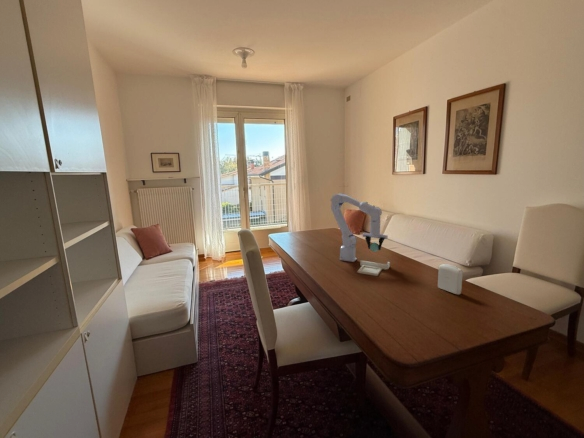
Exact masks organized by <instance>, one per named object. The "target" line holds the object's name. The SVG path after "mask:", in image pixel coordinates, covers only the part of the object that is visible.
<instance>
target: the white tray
mask: <svg viewBox="0 0 584 438" xmlns="http://www.w3.org/2000/svg"><path fill="white" fill-rule="evenodd" d="M382 270H383V269H382V268H379V267H373V266H366V265H362V266H360V267H359V269H358V270H357V274H362V275H369V276H376V277H378V276H379V275H380V273H381V272H382Z"/></svg>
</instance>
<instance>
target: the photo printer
mask: <svg viewBox="0 0 584 438" xmlns="http://www.w3.org/2000/svg"><path fill="white" fill-rule="evenodd" d="M463 274H464V273H463V270H462V269H461V268H459V267H457V266H455V265H453V264H447V263H443V264H439V267H438V273H437V275H438V276H437V288H438V289H441V290H442V291H445V292H449V293H452V294H455V295H461V294H462V290H463V289H462V287H463V286H462V285H463Z"/></svg>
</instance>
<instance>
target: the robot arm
mask: <svg viewBox="0 0 584 438" xmlns="http://www.w3.org/2000/svg"><path fill="white" fill-rule="evenodd" d="M330 202H331V204H330V205H331V206H330V207H331V211H332V215H333V216H334V218H335V221H336V222H337V225H338V228H339V230H340V232H341V239H342V245H341V246H340V249H339V260H340V261H343V262H344V261H345V262H351V263H352V262H353V263H354V262H355V261H356V260H357V259H358V258H357V257H356V243H357V242H358V239H357V237H356V236H355V235H354V233H353V231H351V230H350V227H349V226H348V223H347V221H346V219H345V216H344V214H343V212H342V210H341V208H342V205H344V203H348V204H350V205H353V206H355V207H357V208H358V209H359V211H361V212H363V213H365V214H367V215H369V217H370V228H369V230H370V232H369V233H367V232H363V233H362V237H363V238H365V239H364V240H365V242H366V244H367V247H368V250H371V249H370V245H371V243H372V242H371V241H372V238H374V239H378V245H379V250H378V251H381V248H382V245H383V243H384V241H385V240H387V239H388V235H389V234H382V233H381V216H382V212H383V211H382V209H381V208H380V207H378V206H377V207H376V205H372V204H370V203H368V202H367V201H362V202H360V201H359V200H357V199H355V198H353V197H351V196H350V195H348V194H344V193H334V194H333V195H332V197H331V199H330Z"/></svg>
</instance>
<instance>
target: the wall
mask: <svg viewBox="0 0 584 438" xmlns="http://www.w3.org/2000/svg"><path fill="white" fill-rule="evenodd" d="M359 264H360V267H361V266H362V265H366V266H373V267H379V268H382V270H385V271H386V270H389V268H390V266H391V265H390V264H391V262H390V261H387V263H383V262H382V263H380V262H373V261H367V260H360V261H359Z"/></svg>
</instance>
